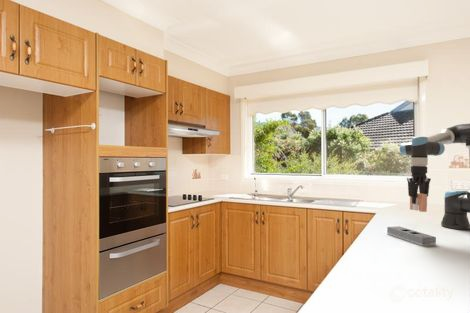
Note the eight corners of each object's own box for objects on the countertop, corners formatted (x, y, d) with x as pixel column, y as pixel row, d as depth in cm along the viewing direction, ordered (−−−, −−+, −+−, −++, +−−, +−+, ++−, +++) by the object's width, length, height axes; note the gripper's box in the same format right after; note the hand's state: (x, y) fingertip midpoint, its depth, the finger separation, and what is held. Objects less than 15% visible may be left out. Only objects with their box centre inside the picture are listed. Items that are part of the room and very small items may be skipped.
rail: (399, 233, 175) (399, 226, 175) (435, 245, 152) (435, 237, 152) (387, 234, 173) (387, 226, 173) (422, 246, 150) (422, 237, 150)
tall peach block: (414, 209, 167) (414, 192, 167) (426, 211, 159) (427, 194, 159) (409, 209, 166) (410, 192, 166) (422, 211, 159) (422, 194, 159)
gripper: (425, 165, 169) (424, 208, 168) (401, 165, 165) (399, 209, 165) (437, 166, 161) (436, 211, 161) (412, 165, 158) (411, 211, 157)
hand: (418, 209), depth 163 cm, fingers closed on tall peach block, 3 cm apart
